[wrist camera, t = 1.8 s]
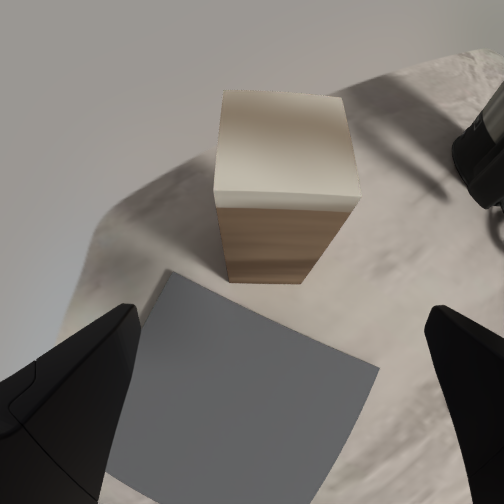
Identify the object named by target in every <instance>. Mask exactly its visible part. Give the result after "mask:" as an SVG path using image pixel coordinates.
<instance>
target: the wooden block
mask: <svg viewBox="0 0 504 504" xmlns="http://www.w3.org/2000/svg"><path fill="white" fill-rule="evenodd" d="M213 192H214V198H215V204H216V210H217V216H218V222H219V227H220V233H221V239H222V245H223V250H224V256H225V261H226V267H227V272H228V278H229V283H252V284H301V283H302V282H303V280H304V279H305V278H306V276H307V275H308V273H309V272H310V271H311V269H312V268H313V267H314V265H315V264H316V262H317V261H318V260H319V258H320V257H321V255H322V254H323V253H324V251H325V250H326V248H327V247H328V246H329V244H330V243H331V241H332V240H333V238H334V237H335V236H336V234H337V233H338V231H339V230H340V228H341V227H342V225H343V224H344V223H345V221H346V220H347V218H348V217H349V215H350V214H351V212H352V211H353V209H354V208H355V206H356V205H357V203H358V202H359V200H360V199H361V197H362V195H361V189H360V183H359V177H358V172H357V166H356V161H355V156H354V151H353V146H352V141H351V136H350V132H349V127H348V123H347V119H346V114H345V110H344V106H343V102H342V98H339V97H331V96H322V95H313V94H302V93H289V92H273V91H247V90H244V91H243V90H224V92H223V100H222V109H221V118H220V127H219V136H218V146H217V156H216V166H215V177H214V188H213Z"/></svg>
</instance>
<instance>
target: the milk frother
mask: <svg viewBox="0 0 504 504" xmlns="http://www.w3.org/2000/svg"><path fill="white" fill-rule="evenodd" d="M452 153H453V158H454V162H455V165H456V167H457V169H458V171H459V173H460V175H461V176H462V178H463V180H464V181H465V183H466V184H467V185H468V192H469V194H470V195H471V196H472V197H473V199H474V200H475V201H476V202H477V203H478V204H479V205H480V206H481V207H482V208H484V209H488V208H490V207H492V206H500V207H501V209H502V211H503V213H504V81H503V83H502V84H501V85H500V87H499V88H498V90H497V91H496V92H495V94H494V95H493V96H492V98H491V99H490V100H489V102H488V103H487V105H486V106H485V107H484V109H483V110H482V111H481V112H480V114H479V115H478V116H477V118H476V119H475V121H474V122H473V123H472V125H471V126H470V127H469V128H467V129H466V130H465V131H464V133H463V134H462V135H461V136H460V137H458V138H457V139H456V140H455V141H454V143H453V147H452Z"/></svg>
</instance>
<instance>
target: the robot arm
mask: <svg viewBox="0 0 504 504" xmlns="http://www.w3.org/2000/svg"><path fill="white" fill-rule="evenodd" d="M424 333H425V337H426V340H427V343H428V347H429V350H430V354H431V357H432V361H433V365H434V368H435V372H436V375H437V378H438V380H439V383H440V386H441V389H442V391H443V394H444V397H445V400H446V403H447V406H448V409H449V412H450V415H451V418H452V422H453V425H454V428H455V431H456V435H457V438H458V442H459V445H460V449H461V453H462V457H463V460H464V464H465V468H466V473H467V477H468V482H469V487H470V491H471V496H472V502H473V504H504V338H502V337H501V336H499V335H497V334H496V333H494V332H492V331H490V330H489V329H487V328H485V327H483V326H481V325H480V324H478V323H476V322H474V321H473V320H471V319H469V318H467V317H465V316H464V315H462V314H460V313H458V312H456V311H455V310H453V309H451V308H449V307H447V306H445V305H436V306H434V307H433V308H432V309H431V311H430V314H429V317H428V319H427V322H426V324H425V328H424ZM140 335H141V326H140V321H139V317H138V312H137V308H136V306H135V305H134V304H125V303H122V304H120V305H118V306H117V307H115V308H114V309H112V310H111V311H109V312H107V313H106V314H104V315H103V316H101V317H100V318H98V319H97V320H95V321H94V322H92V323H90V324H89V325H87V326H86V327H84V328H83V329H81V330H80V331H78V332H77V333H75V334H74V335H72V336H71V337H69V338H68V339H66V340H64V341H63V342H61V343H60V344H58V345H57V346H55V347H54V348H52V349H51V350H49V351H48V352H46V353H45V354H43V355H42V356H40V357H39V358H37V359H36V361H33V362H32V363H30V364H29V365H27V366H25V367H24V368H22V369H21V370H19V371H18V372H16V373H15V374H13V375H12V376H10V377H8V378H7V379H5V380H3V381H1V382H0V504H98V502H97V501H98V499H99V495H100V491H101V486H102V482H103V478H104V474H105V470H106V466H107V462H108V458H109V454H110V450H111V447H112V443H113V439H114V436H115V432H116V429H117V425H118V422H119V418H120V415H121V412H122V408H123V405H124V402H125V398H126V395H127V392H128V389H129V385H130V382H131V379H132V374H133V370H134V364H135V359H136V354H137V350H138V345H139V340H140Z"/></svg>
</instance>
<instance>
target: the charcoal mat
mask: <svg viewBox="0 0 504 504" xmlns="http://www.w3.org/2000/svg"><path fill="white" fill-rule="evenodd" d="M379 369H380V368H379V367H376V366H374V365H371V364H369V363H367V362H364V361H362V360H359V359H357V358H355V357H352V356H350V355H348V354H345V353H343V352H341V351H338V350H336V349H334V348H331V347H329V346H327V345H325V344H322V343H320V342H318V341H316V340H313V339H311V338H309V337H307V336H304V335H302V334H300V333H298V332H296V331H293V330H291V329H289V328H287V327H285V326H283V325H280V324H278V323H276V322H274V321H272V320H270V319H268V318H266V317H263V316H261V315H259V314H257V313H255V312H253V311H251V310H249V309H247V308H245V307H243V306H241V305H239V304H236V303H234V302H232V301H230V300H228V299H226V298H224V297H222V296H220V295H218V294H216V293H214V292H212V291H210V290H208V289H206V288H204V287H202V286H200V285H198V284H197V283H195V282H193V281H191V280H189V279H187V278H185V277H183V276H181V275H179V274H177V273H175V272H173V273H172V274H171V276H170V278H169V280H168V282H167V283H166V285H165V287H164V289H163V291H162V292H161V294H160V296H159V298H158V300H157V302H156V303H155V305H154V307H153V309H152V311H151V313H150V315H149V316H148V318H147V320H146V322H145V324H144V326H143V328H142V330H141V335H140V340H139V345H138V350H137V354H136V359H135V364H134V370H133V374H132V379H131V382H130V385H129V389H128V392H127V395H126V398H125V402H124V405H123V408H122V412H121V415H120V418H119V422H118V425H117V429H116V432H115V436H114V439H113V443H112V447H111V450H110V454H109V458H108V462H107V466H106V470H105V472H107V473H108V474H110V475H111V476H113V477H115V478H116V479H118V480H119V481H121V482H123V483H124V484H126V485H128V486H129V487H131V488H133V489H134V490H136V491H138V492H140V493H141V494H143V495H145V496H147V497H149V498H150V499H152V500H154V501H156V502H158V503H160V504H310V503H311V501H312V499H313V498H314V496H315V495H316V493H317V492H318V490H319V488H320V487H321V485H322V484H323V482H324V480H325V479H326V477H327V475H328V473H329V472H330V470H331V468H332V467H333V465H334V463H335V461H336V459H337V458H338V456H339V454H340V452H341V450H342V448H343V447H344V445H345V443H346V441H347V439H348V437H349V435H350V433H351V431H352V429H353V427H354V425H355V423H356V421H357V419H358V417H359V415H360V413H361V410H362V408H363V406H364V404H365V402H366V399H367V397H368V395H369V393H370V390H371V388H372V386H373V383H374V381H375V379H376V376H377V374H378V371H379Z"/></svg>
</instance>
